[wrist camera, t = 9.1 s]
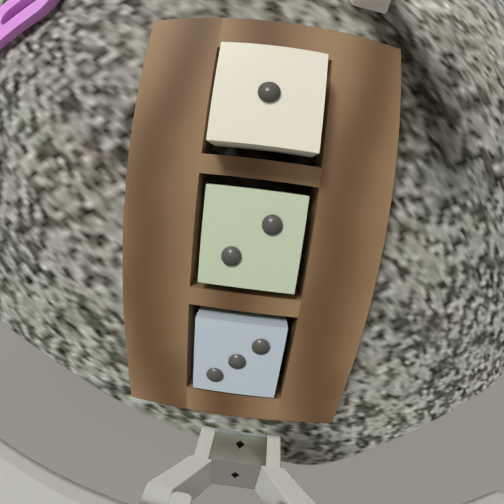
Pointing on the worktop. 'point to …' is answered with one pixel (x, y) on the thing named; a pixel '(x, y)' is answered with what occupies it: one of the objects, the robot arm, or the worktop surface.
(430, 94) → the worktop surface
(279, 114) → the tile
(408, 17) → the worktop surface
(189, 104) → the dice board
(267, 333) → the tile
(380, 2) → the white faceted bottle
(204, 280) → the tile
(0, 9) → the bracket
